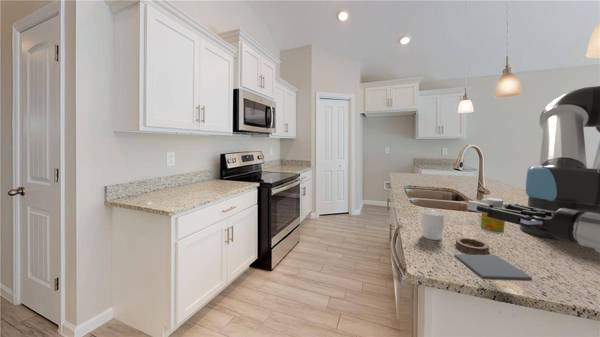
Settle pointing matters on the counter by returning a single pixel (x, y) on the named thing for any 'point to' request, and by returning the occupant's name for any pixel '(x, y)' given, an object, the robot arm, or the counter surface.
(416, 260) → the counter surface
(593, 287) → the counter surface
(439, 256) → the counter surface
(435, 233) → the white cup
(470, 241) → the collar
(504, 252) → the counter surface
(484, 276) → the mat
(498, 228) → the supplement bottle
